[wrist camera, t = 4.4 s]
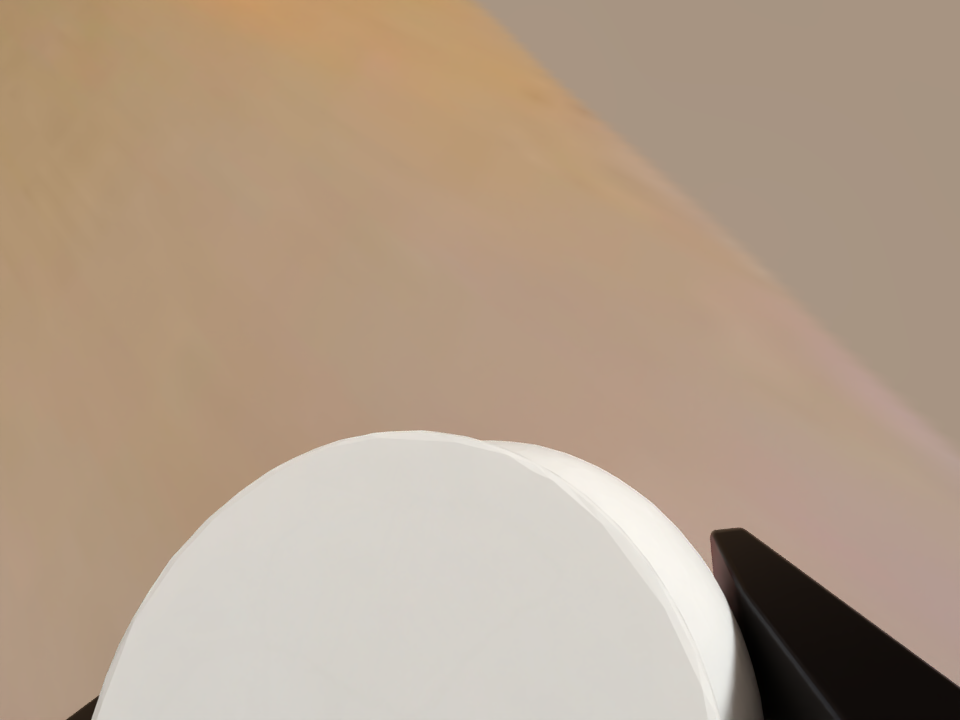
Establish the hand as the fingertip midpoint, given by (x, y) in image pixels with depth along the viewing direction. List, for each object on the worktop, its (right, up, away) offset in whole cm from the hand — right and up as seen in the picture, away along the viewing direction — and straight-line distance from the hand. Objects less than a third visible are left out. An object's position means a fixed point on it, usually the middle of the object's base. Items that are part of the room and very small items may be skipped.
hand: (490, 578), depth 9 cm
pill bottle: (+2, -4, +6) cm, 7 cm away
